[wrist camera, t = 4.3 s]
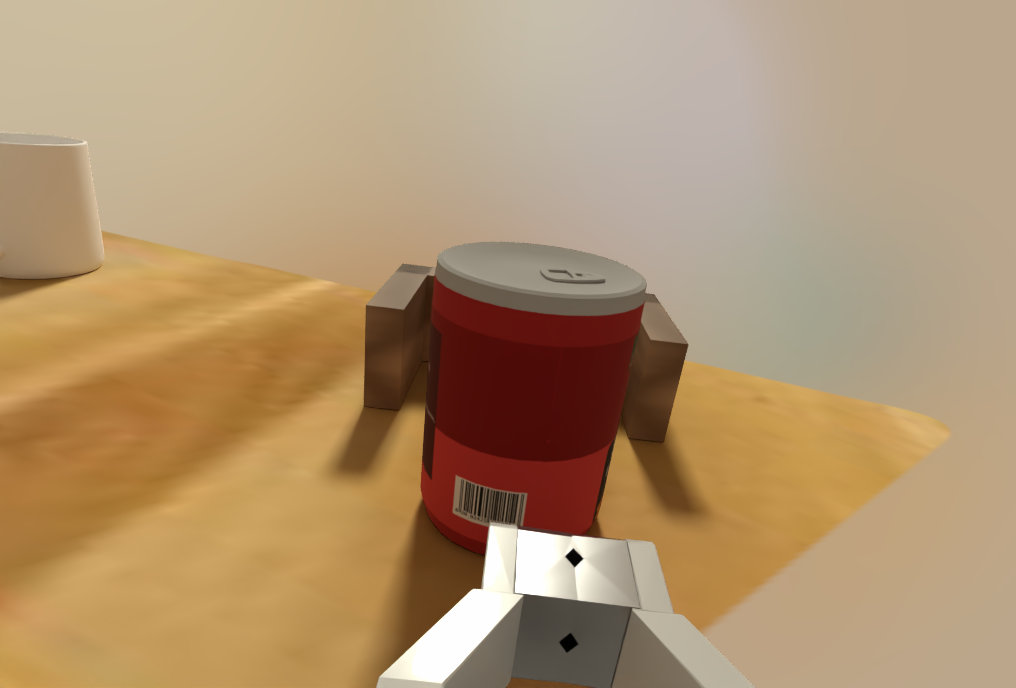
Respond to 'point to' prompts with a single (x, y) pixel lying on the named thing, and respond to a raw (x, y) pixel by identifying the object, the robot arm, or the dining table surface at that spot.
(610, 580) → the robot arm
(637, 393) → the corral
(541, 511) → the canned food
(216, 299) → the dining table surface
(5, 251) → the cup
